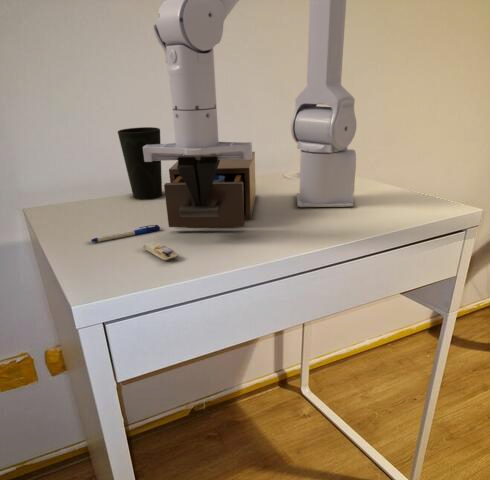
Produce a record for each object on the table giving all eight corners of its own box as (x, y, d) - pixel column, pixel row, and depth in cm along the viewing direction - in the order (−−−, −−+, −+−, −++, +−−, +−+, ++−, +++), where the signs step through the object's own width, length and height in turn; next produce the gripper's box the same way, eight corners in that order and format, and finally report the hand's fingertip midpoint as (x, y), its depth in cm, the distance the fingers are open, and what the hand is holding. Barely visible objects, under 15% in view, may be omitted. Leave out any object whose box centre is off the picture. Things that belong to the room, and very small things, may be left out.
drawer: (241, 237, 65) (239, 192, 62) (161, 238, 66) (155, 193, 63) (249, 202, 81) (248, 165, 78) (185, 203, 82) (181, 166, 79)
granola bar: (141, 249, 65) (140, 242, 64) (156, 245, 66) (155, 238, 65) (164, 263, 60) (163, 255, 59) (180, 258, 61) (179, 251, 60)
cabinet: (250, 219, 75) (249, 167, 71) (174, 220, 76) (168, 169, 72) (255, 196, 88) (254, 151, 84) (190, 197, 89) (186, 153, 85)
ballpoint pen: (158, 229, 73) (157, 222, 72) (160, 230, 72) (160, 224, 72) (91, 242, 68) (90, 236, 68) (93, 244, 68) (91, 237, 67)
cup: (171, 190, 94) (164, 126, 88) (161, 200, 88) (153, 132, 82) (134, 191, 95) (125, 127, 89) (122, 201, 88) (111, 133, 82)
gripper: (130, 113, 57) (146, 221, 64) (248, 109, 56) (251, 220, 63) (145, 107, 63) (158, 207, 70) (252, 104, 62) (254, 206, 69)
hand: (202, 212), depth 67 cm, fingers closed, pressing on drawer
